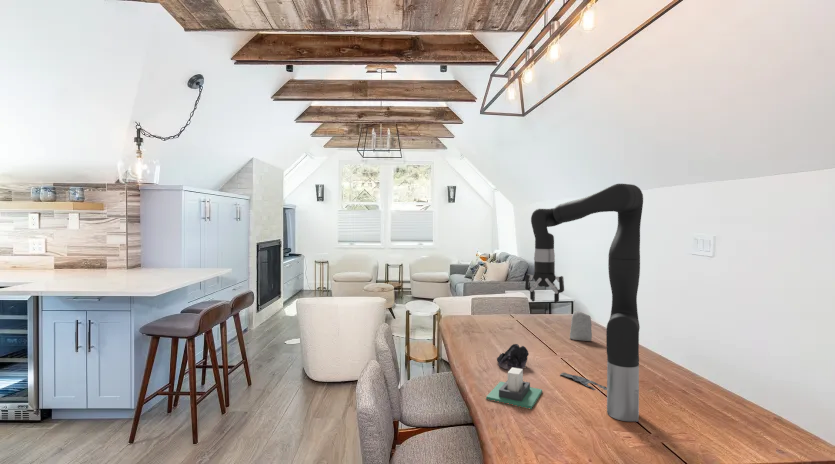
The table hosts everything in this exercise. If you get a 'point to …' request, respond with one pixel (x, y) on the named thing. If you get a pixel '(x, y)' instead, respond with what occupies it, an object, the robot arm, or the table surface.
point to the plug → (515, 379)
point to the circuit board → (515, 395)
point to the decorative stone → (581, 327)
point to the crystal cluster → (513, 357)
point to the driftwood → (583, 380)
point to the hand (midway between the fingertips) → (544, 302)
